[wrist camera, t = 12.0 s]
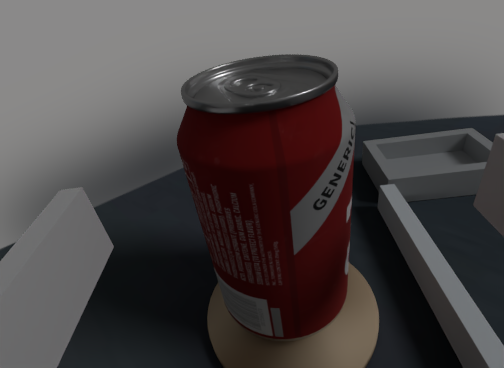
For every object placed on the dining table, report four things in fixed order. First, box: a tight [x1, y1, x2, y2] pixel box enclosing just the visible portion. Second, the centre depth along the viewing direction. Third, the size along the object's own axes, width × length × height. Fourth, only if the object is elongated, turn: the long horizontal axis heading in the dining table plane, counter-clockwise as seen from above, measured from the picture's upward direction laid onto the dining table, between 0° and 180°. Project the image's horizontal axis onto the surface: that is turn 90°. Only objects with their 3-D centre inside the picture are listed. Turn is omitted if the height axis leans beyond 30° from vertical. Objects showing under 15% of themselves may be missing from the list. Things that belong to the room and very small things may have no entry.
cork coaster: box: [207, 263, 379, 368], centre depth 17 cm, size 9×9×1 cm
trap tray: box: [362, 128, 493, 202], centre depth 25 cm, size 6×9×2 cm, turn 91°
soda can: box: [177, 55, 355, 341], centre depth 15 cm, size 7×7×12 cm
